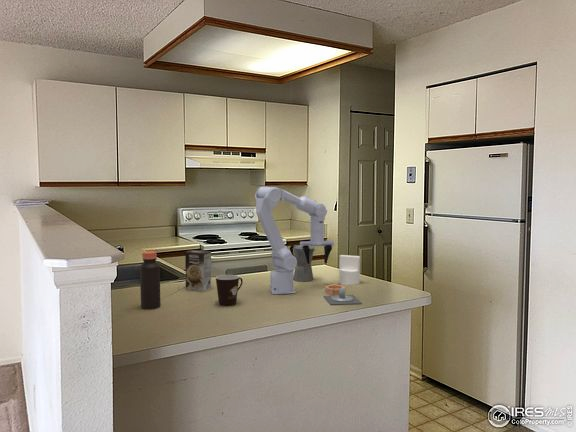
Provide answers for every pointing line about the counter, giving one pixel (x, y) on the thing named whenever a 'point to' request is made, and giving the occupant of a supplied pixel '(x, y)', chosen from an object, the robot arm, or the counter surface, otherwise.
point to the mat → (331, 302)
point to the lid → (342, 296)
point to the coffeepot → (302, 264)
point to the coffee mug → (227, 289)
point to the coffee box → (198, 270)
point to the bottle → (150, 281)
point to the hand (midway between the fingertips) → (316, 262)
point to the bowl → (333, 289)
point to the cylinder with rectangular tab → (349, 270)
